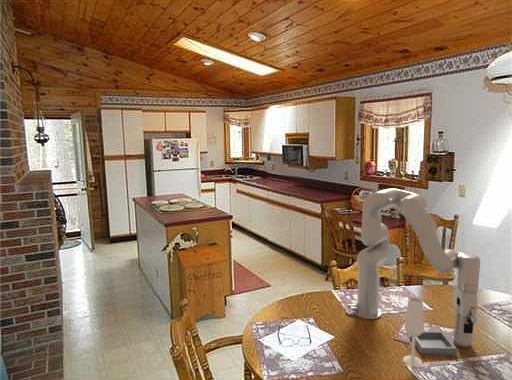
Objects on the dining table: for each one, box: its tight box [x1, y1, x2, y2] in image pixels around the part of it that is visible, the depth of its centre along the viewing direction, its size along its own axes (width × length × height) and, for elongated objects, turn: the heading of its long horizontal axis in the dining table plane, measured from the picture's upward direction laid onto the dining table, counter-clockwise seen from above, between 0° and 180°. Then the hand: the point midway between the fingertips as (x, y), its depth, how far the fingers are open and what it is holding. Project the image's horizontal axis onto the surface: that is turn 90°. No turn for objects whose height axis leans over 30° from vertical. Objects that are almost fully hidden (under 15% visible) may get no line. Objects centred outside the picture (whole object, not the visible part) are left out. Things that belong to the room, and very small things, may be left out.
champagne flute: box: [402, 296, 425, 367], centre depth 142 cm, size 7×7×24 cm
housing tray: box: [409, 330, 458, 357], centre depth 153 cm, size 13×13×3 cm
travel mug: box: [453, 297, 473, 349], centre depth 153 cm, size 6×7×20 cm
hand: (463, 328), depth 154 cm, fingers closed on travel mug, 6 cm apart
